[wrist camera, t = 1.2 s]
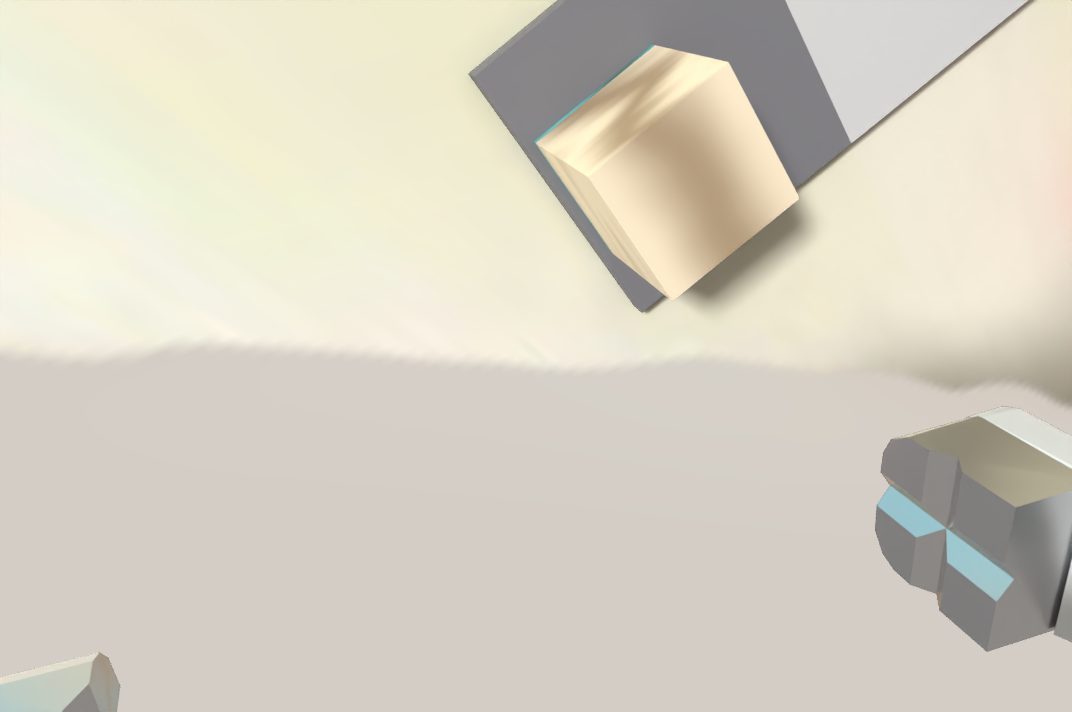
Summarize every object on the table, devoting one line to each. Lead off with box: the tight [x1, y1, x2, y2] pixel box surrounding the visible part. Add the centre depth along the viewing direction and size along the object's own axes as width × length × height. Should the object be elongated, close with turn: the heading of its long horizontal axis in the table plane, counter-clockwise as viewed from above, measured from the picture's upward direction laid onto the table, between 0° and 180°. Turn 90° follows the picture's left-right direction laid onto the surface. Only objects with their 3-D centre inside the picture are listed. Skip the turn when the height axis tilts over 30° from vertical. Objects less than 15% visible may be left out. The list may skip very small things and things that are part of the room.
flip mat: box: [469, 0, 1028, 313], centre depth 41 cm, size 26×15×1 cm, turn 126°
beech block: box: [534, 45, 800, 301], centre depth 38 cm, size 7×7×7 cm
